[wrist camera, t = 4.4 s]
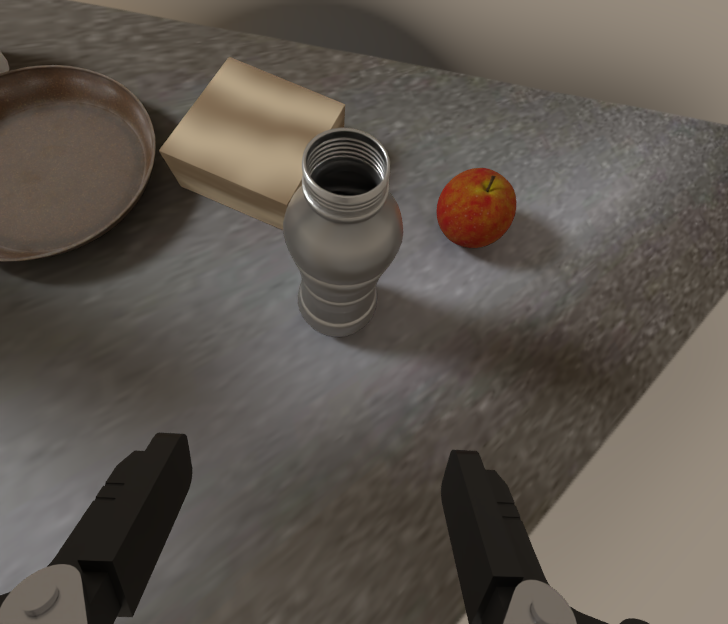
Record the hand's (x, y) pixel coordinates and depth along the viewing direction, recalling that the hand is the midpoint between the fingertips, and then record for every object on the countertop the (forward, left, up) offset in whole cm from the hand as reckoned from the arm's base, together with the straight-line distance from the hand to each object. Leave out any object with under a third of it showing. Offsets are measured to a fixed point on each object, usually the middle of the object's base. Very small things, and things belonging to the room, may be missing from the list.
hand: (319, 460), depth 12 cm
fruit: (+24, -4, -21) cm, 32 cm away
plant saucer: (+12, +34, -21) cm, 42 cm away
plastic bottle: (+11, +4, -21) cm, 24 cm away
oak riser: (+22, +17, -21) cm, 34 cm away
